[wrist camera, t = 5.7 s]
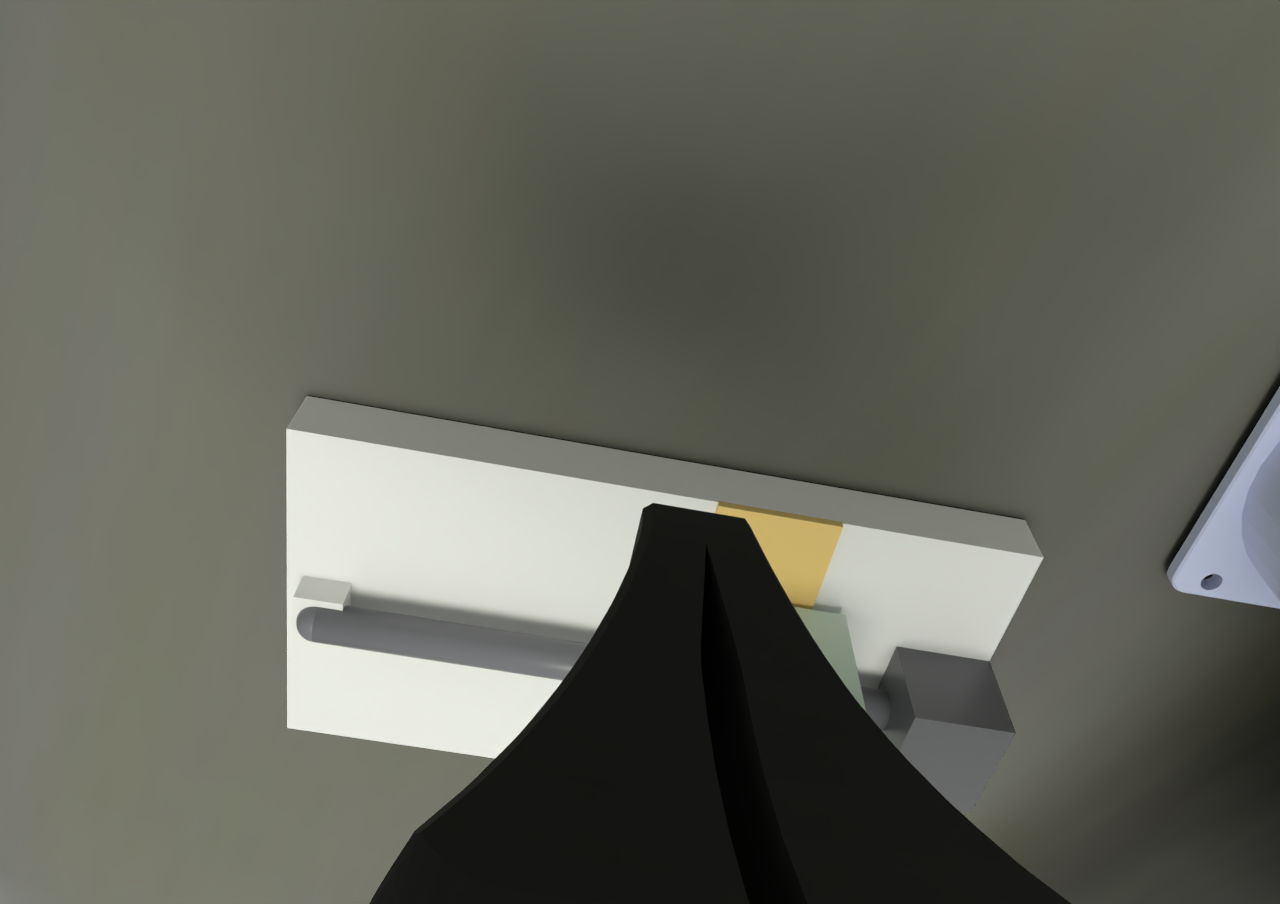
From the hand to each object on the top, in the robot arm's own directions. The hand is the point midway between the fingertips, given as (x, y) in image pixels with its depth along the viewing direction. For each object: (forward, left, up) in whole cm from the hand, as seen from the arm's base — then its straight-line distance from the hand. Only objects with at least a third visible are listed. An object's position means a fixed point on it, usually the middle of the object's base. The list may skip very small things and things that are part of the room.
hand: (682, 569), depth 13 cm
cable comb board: (-1, +10, -10) cm, 14 cm away
